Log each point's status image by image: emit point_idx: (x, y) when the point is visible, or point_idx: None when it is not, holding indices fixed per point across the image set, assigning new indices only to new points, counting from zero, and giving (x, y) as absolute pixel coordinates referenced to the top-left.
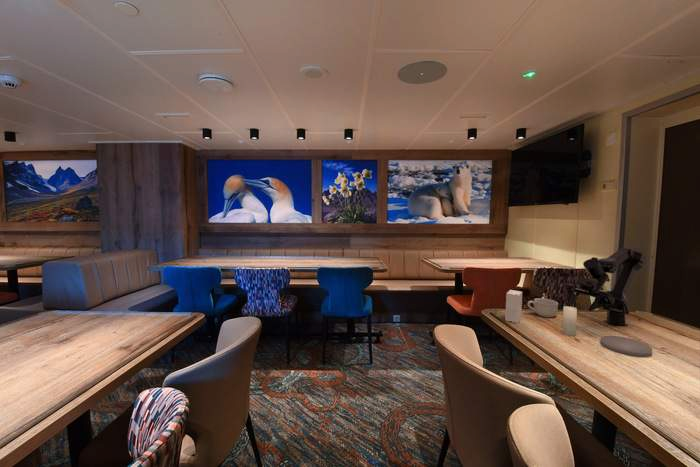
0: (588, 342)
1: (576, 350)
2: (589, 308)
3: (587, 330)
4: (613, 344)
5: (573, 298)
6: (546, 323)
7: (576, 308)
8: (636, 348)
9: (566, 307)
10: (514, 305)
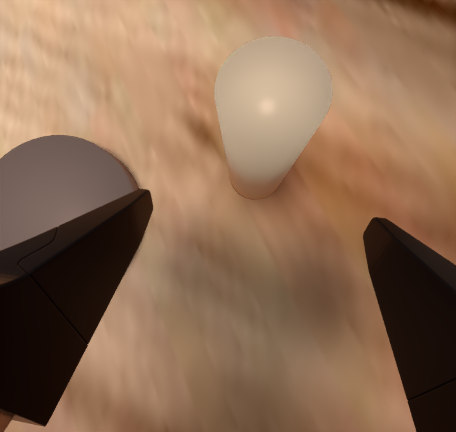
0: (164, 148)
1: (150, 31)
2: (135, 196)
3: (240, 303)
4: (70, 156)
5: (426, 365)
6: (397, 215)
7: (228, 123)
8: (6, 194)
9: (296, 68)
10: None
